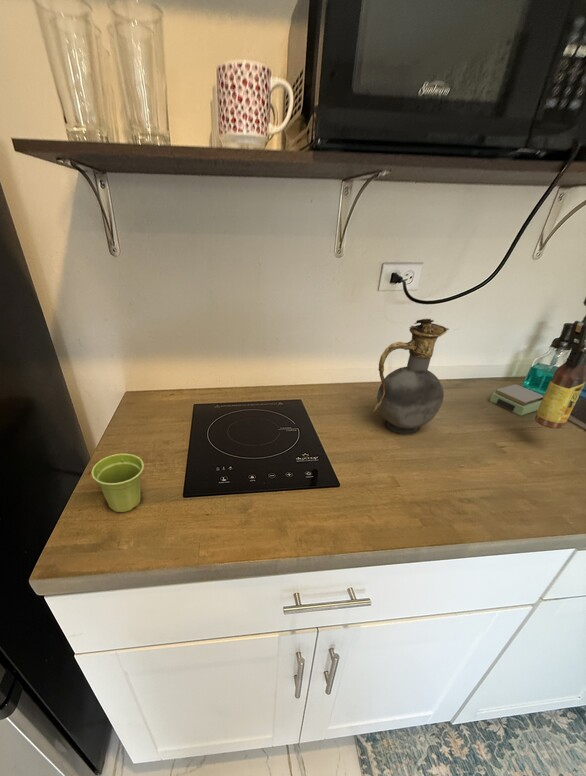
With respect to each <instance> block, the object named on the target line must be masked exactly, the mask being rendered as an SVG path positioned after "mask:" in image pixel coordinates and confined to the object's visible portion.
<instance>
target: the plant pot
mask: <svg viewBox="0 0 586 776" xmlns="http://www.w3.org/2000/svg"><path fill="white" fill-rule="evenodd" d="M144 469H145V465H144V461H143V460H142V458H141V457H139V456H138V455H136V454H132V453H116V454H112V455H108V456H106V457H104V458H102V459H100V460H98V462H96V463H95V464H94V466H93V467H92V469H91V477H92V478H93V480H94V481H95V482H96V483H97V484H98V485H99V486H100V487H99V488H100V490H101V491H102V493H103V496H104V498H105V500H106V502H107V505H108V507H109V508H110V509H111V510H112V511H114V512H117V513H126V512H130V511H131V510H133V509H134V508H136V507H138V506H139V505H140V503H141V494H142V493H141V492H142V491H141V489H142V488H141V487H142V486H141V485H142V484H141V483H142V481H141V480H142V474H143V471H144Z"/></svg>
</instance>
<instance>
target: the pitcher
mask: <svg viewBox="0 0 586 776" xmlns="http://www.w3.org/2000/svg"><path fill="white" fill-rule="evenodd" d="M433 322H435V320H433V319H432V318H422V319H417V320H416V321H415V322H413V324H414V325H411V326H409V327H408V328H409V329H408V330H409V332H410V333H411V340H410V341H408V342H403V341H395V342H392V343H391V344H389V345H388V346H387V347H386V348H385V349H384V351H383V352H382V354H381V356H380V358H379V362H378V373H379V378H380V381H381V384H380V386H379V387H378V389H377V390H378V391H377V394H376V395H377V396H376V401H377V404H375V406H374V408H373V411H372V412H373V413H375V412H376V411H377V410H379V412H380V413H381V416H382V417H383V419H385V420H386V421H387V423H386V424H387V425H386V426H387V428H388V429H389V430H390V431H391V432H394V433H397V434H400V435H411V434H414V433H416V432H417V431H418V428H420V427H422V426H424V425H426V424H428V423H430V422H431V421H432V420H434V418H435V417H436V416H437V414H438V412H439V411H440V409H441V407H442V405H443V402H444V397H445V396H444V395H445V394H444V393H445V392H444V388H443V385H442V383H441V381H440V379H439V378H438V377H437V376H436V375H435V373H433V372H432V371H430V370H429V366H430V363H431V358H432V357H433V354H434V349H435V344H436V342H437V340H438V338H439V337H441V336H444V335H445V334H446V333H447V331H449V330H450V328H449V327H446V326H444V325H440V324H437V323H433ZM400 349H401V350H404V351H408V353H409V356H408V360H407V364H406V366H402V367H398V368H396V369H394V370H393V371H391V372H390V373H388V374H387V375H386V376H384V371H385V362H386V360H387V357H388V356H389V355H390V353H392V352H393V351H396V350H400Z"/></svg>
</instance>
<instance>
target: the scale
mask: <svg viewBox="0 0 586 776" xmlns="http://www.w3.org/2000/svg"><path fill="white" fill-rule="evenodd" d="M489 402H491V403H493V404H496V405H498V406H499V407H502V408H504V409H506V410H507V411H510V412H512V413H515V414H516V415H518V416H523V415H527V414H530V413H533V412H537V411H538V409H539V406H540V404H541V402H542V400H540V401H537V402H534V403H531V404H527V405H522V404H520V403H518V402H515V401H513V400H511V399H509V398H506V397H504V396H502V395H500V394H498V393H495V392H492V394H491V397H490V399H489Z"/></svg>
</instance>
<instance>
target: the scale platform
mask: <svg viewBox="0 0 586 776" xmlns="http://www.w3.org/2000/svg"><path fill="white" fill-rule="evenodd" d="M494 393H498V394H500V395H502V396H504V397H506V398H509V399H511V400H513V401H515V402H518V403H520V404H522V405H527V404H531V403H534V402H537V401H540V400H542V399H543V397H544V394H540V393H538V392H536V391H532V390H530V389H528V388H525V387H523V386H521V385H519V384H516V383H514V384H511V385H508V386H504V387H500V388H496V389H495V391H494Z"/></svg>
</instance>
